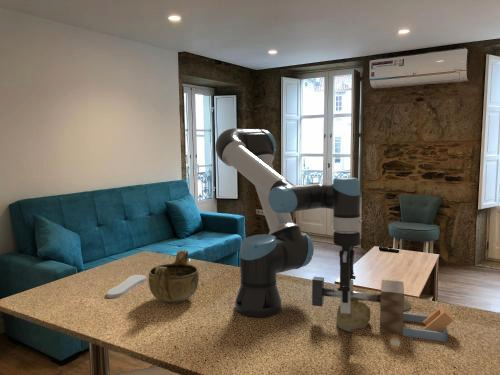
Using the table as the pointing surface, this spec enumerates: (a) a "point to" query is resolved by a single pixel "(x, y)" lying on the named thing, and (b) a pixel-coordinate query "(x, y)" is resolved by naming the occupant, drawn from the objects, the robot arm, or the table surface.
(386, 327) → the block
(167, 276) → the ceramic bowl
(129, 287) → the long curved white strip
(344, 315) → the decorative item
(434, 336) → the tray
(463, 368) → the table surface
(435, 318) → the spacer
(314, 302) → the shaft
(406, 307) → the sea urchin shell
